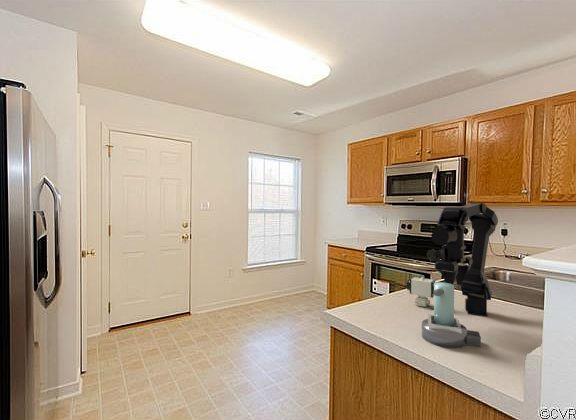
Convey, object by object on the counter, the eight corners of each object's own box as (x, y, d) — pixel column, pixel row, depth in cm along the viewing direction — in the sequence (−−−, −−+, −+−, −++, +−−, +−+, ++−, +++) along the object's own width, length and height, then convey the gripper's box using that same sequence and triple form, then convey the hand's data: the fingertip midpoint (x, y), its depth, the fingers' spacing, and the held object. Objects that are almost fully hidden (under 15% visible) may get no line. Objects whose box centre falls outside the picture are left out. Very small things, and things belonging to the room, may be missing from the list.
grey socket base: (476, 335, 96) (476, 318, 96) (483, 353, 85) (483, 334, 84) (421, 327, 103) (421, 311, 102) (421, 343, 91) (421, 325, 91)
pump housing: (438, 320, 98) (438, 281, 98) (456, 325, 94) (456, 284, 94) (427, 328, 93) (427, 286, 92) (446, 333, 88) (446, 290, 88)
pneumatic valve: (436, 310, 119) (436, 280, 119) (406, 304, 127) (406, 275, 126) (439, 306, 123) (439, 277, 123) (410, 300, 131) (410, 273, 131)
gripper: (440, 238, 117) (440, 278, 117) (419, 243, 105) (419, 287, 105) (473, 241, 109) (472, 284, 109) (453, 246, 96) (453, 294, 97)
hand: (454, 287), depth 105 cm, fingers open, 9 cm apart
